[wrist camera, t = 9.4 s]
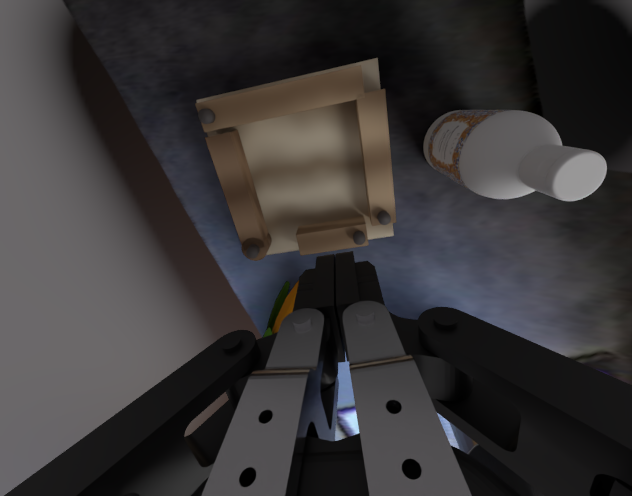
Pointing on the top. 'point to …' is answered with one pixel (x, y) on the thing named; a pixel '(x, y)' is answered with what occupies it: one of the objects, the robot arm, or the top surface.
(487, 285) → the top surface
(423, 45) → the top surface
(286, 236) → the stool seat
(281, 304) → the corn
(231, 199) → the brown rectangular block
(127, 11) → the top surface
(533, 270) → the top surface
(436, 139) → the bath foam
